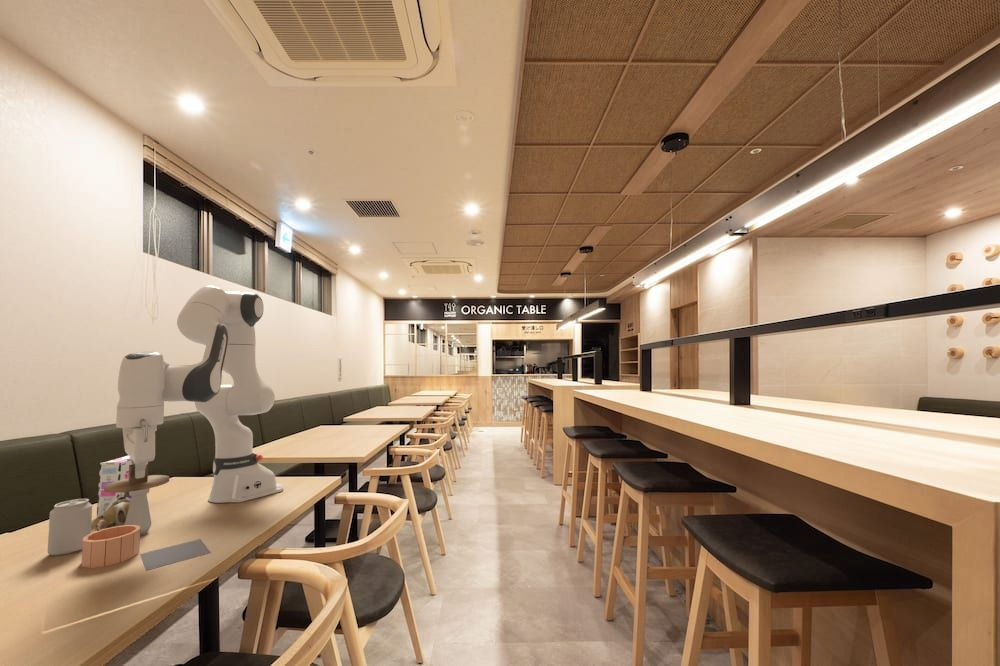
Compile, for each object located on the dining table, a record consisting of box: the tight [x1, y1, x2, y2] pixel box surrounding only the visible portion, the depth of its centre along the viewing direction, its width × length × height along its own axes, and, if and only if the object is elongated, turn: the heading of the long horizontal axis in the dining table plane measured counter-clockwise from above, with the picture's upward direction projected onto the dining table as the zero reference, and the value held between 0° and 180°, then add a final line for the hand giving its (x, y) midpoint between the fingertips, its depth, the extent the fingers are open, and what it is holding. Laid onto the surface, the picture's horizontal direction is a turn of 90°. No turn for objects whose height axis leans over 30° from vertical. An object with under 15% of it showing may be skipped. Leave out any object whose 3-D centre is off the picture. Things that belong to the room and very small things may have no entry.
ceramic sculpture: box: [95, 496, 131, 531], centre depth 121 cm, size 11×9×15 cm
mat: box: [139, 538, 212, 571], centre depth 102 cm, size 12×12×1 cm
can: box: [47, 498, 93, 557], centre depth 106 cm, size 8×8×12 cm
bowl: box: [81, 525, 141, 569], centre depth 101 cm, size 10×10×6 cm
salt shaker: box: [125, 488, 152, 537], centre depth 116 cm, size 6×6×13 cm
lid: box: [104, 463, 170, 493], centre depth 102 cm, size 12×12×5 cm
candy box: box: [96, 454, 149, 518], centre depth 137 cm, size 14×6×16 cm, turn 9°
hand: (138, 476), depth 102 cm, fingers closed on lid, 3 cm apart
